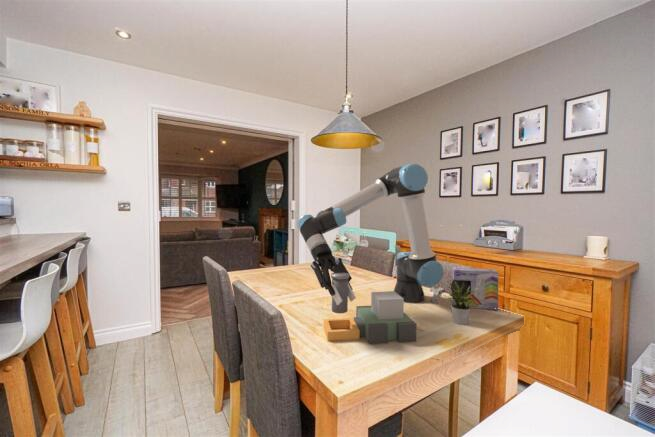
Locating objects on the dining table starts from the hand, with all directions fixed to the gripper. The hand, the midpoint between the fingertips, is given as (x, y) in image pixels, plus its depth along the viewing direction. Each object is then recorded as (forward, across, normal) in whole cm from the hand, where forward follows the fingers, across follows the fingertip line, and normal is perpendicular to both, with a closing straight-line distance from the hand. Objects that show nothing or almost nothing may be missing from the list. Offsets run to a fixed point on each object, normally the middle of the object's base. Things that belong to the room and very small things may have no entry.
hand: (346, 301), depth 97 cm
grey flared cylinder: (+1, 0, -6) cm, 6 cm away
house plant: (+20, -44, +3) cm, 49 cm away
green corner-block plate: (+10, -8, -8) cm, 15 cm away
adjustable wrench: (+4, -68, -14) cm, 70 cm away
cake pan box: (+18, -66, 0) cm, 69 cm away
